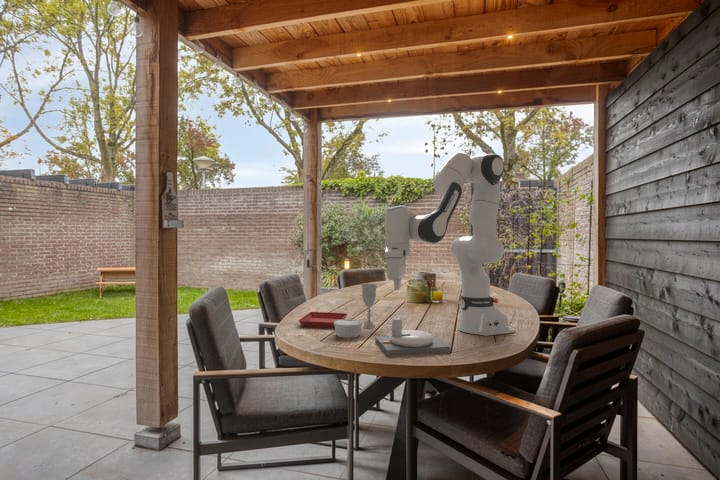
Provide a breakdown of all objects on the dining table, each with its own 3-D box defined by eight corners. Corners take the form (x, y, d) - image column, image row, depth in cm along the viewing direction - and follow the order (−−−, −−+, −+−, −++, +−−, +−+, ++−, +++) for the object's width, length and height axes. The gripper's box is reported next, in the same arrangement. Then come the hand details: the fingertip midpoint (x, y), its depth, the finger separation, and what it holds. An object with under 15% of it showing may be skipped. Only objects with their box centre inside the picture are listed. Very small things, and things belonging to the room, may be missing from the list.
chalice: (375, 329, 171) (375, 286, 171) (359, 328, 172) (359, 285, 172) (378, 325, 178) (378, 284, 178) (362, 324, 180) (362, 283, 179)
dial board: (431, 339, 156) (431, 332, 156) (450, 352, 139) (450, 344, 139) (375, 342, 152) (375, 335, 152) (387, 356, 135) (387, 348, 135)
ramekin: (358, 330, 169) (358, 318, 169) (365, 337, 158) (365, 324, 158) (331, 332, 166) (331, 319, 166) (336, 339, 156) (336, 325, 155)
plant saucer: (339, 329, 172) (339, 321, 172) (297, 327, 175) (297, 320, 175) (348, 320, 190) (348, 313, 190) (310, 318, 193) (310, 311, 193)
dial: (421, 334, 155) (421, 312, 155) (440, 344, 140) (440, 321, 140) (384, 336, 151) (384, 315, 150) (399, 348, 136) (399, 324, 136)
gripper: (392, 249, 158) (393, 284, 159) (383, 252, 138) (383, 293, 139) (409, 249, 157) (409, 285, 157) (402, 252, 137) (402, 294, 137)
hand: (397, 289), depth 148 cm, fingers closed
